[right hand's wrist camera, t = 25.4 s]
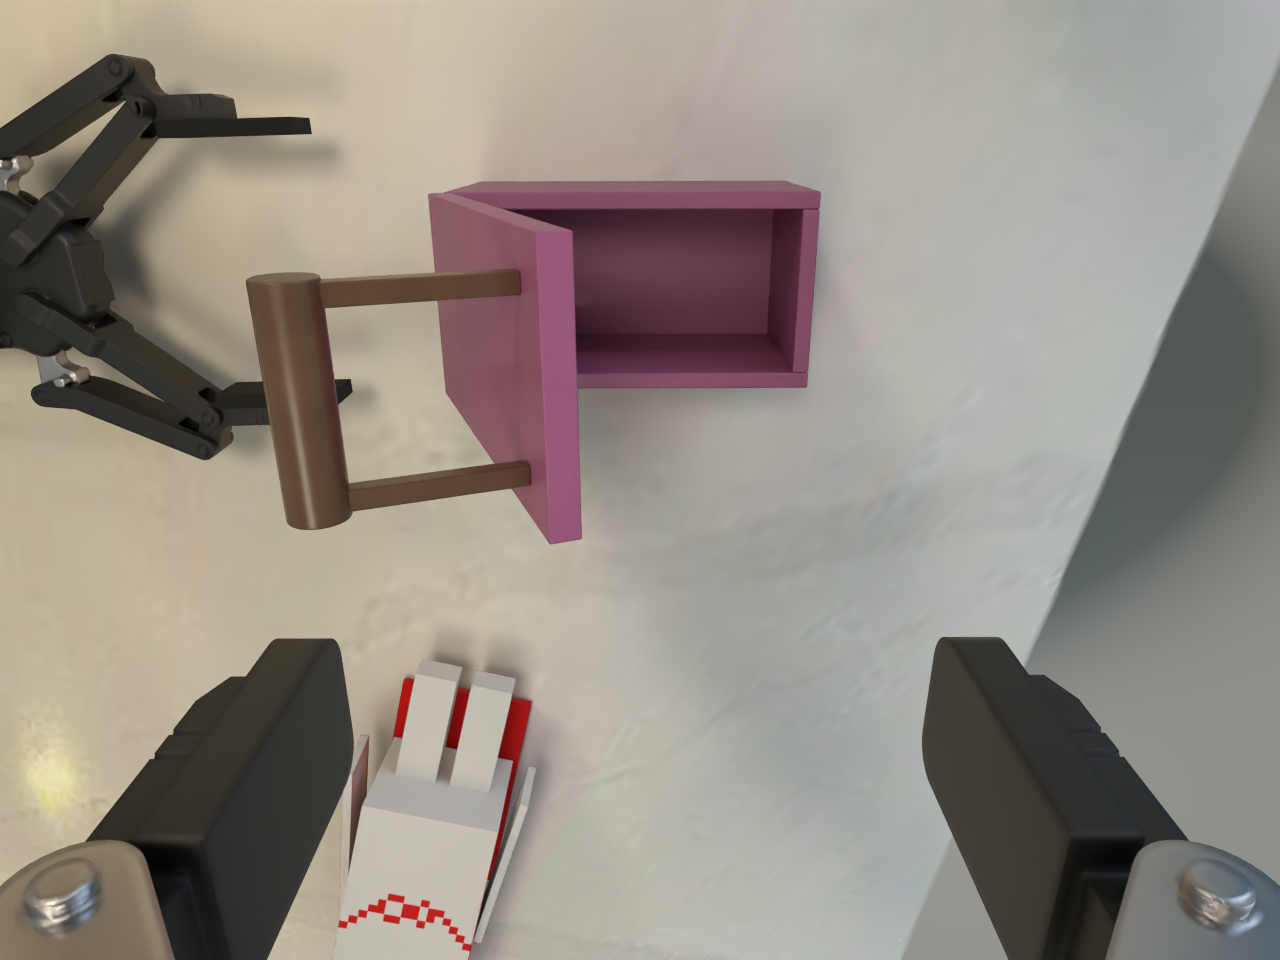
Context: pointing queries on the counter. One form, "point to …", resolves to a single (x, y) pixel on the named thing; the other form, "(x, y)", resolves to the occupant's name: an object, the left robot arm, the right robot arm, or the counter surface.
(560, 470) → the lid
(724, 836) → the counter surface
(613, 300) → the chest
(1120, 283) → the counter surface
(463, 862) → the toy
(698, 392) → the counter surface
